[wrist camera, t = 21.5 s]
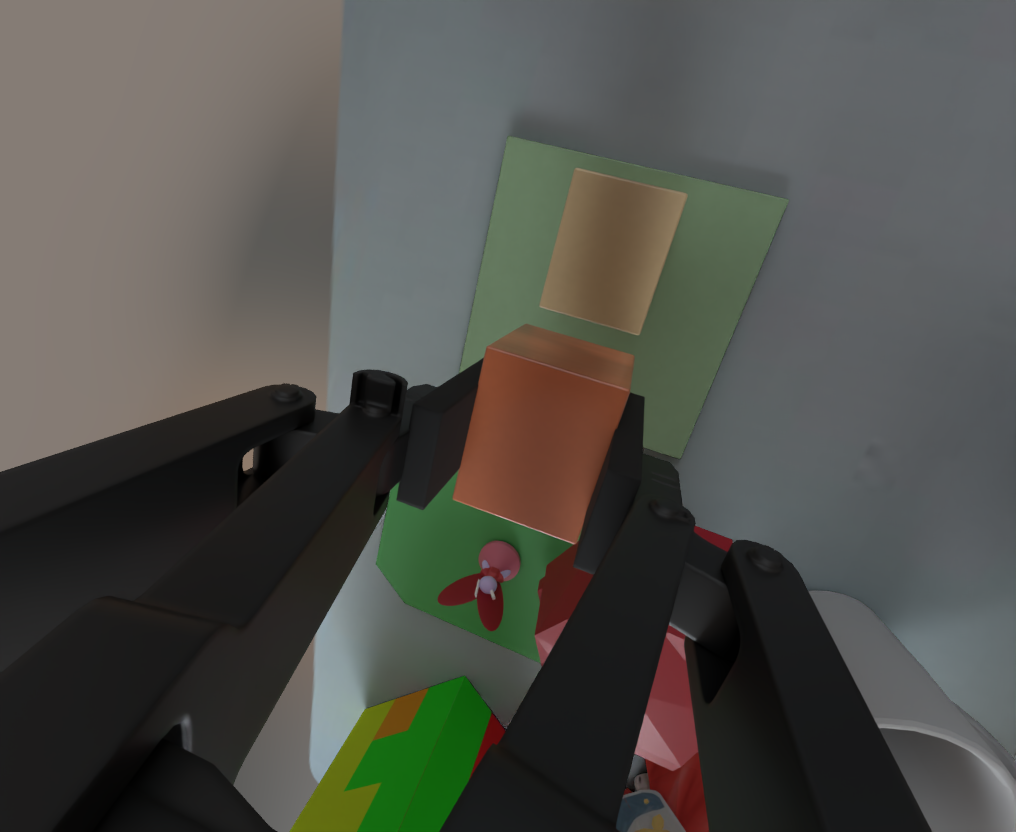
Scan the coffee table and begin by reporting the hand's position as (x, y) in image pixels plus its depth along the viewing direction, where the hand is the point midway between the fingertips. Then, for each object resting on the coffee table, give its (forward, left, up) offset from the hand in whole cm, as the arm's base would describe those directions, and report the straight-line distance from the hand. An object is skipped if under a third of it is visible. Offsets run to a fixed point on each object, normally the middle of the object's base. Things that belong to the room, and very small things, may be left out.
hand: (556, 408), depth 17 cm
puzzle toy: (-1, -30, -8) cm, 31 cm away
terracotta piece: (0, 0, -1) cm, 1 cm away
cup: (+17, -10, -8) cm, 21 cm away
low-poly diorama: (+1, -12, -8) cm, 14 cm away
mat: (0, +3, -8) cm, 8 cm away
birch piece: (0, +5, -7) cm, 9 cm away
